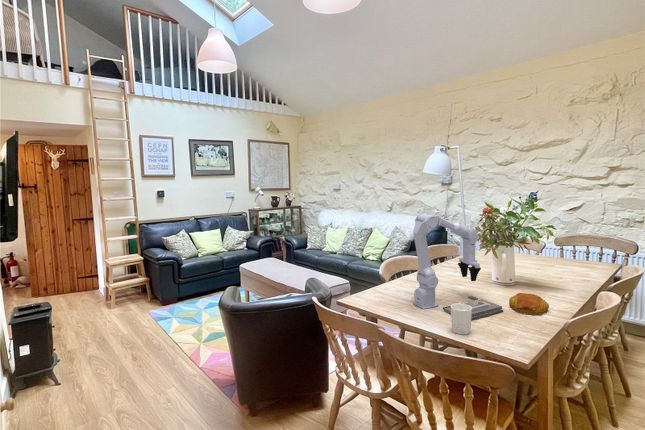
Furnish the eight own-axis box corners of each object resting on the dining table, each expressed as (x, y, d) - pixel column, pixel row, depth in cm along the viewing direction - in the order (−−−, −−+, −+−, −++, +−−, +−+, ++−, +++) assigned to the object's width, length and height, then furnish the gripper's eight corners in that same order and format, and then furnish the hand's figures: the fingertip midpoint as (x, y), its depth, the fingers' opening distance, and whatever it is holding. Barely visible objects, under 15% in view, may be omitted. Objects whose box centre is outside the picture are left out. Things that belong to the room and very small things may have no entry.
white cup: (466, 326, 144) (466, 302, 143) (475, 334, 136) (475, 310, 135) (447, 327, 144) (447, 303, 143) (455, 336, 136) (455, 311, 135)
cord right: (469, 321, 149) (469, 319, 148) (467, 320, 149) (467, 318, 149) (503, 312, 157) (503, 309, 157) (501, 311, 158) (501, 309, 158)
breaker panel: (462, 320, 150) (462, 313, 150) (444, 311, 160) (443, 305, 160) (502, 309, 160) (502, 303, 160) (482, 302, 170) (482, 296, 170)
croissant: (513, 306, 169) (510, 289, 169) (551, 308, 159) (548, 290, 159) (506, 315, 158) (503, 297, 158) (546, 318, 148) (543, 299, 148)
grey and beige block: (474, 308, 158) (474, 299, 157) (467, 306, 161) (467, 296, 161) (478, 307, 159) (478, 298, 158) (471, 305, 162) (471, 295, 162)
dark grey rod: (444, 309, 162) (444, 307, 162) (442, 309, 163) (442, 307, 163) (476, 301, 170) (476, 299, 170) (475, 301, 171) (475, 299, 171)
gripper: (485, 254, 167) (485, 282, 169) (467, 248, 182) (467, 274, 183) (472, 255, 166) (471, 283, 168) (455, 249, 180) (455, 275, 182)
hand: (468, 278), depth 175 cm, fingers open, 7 cm apart
